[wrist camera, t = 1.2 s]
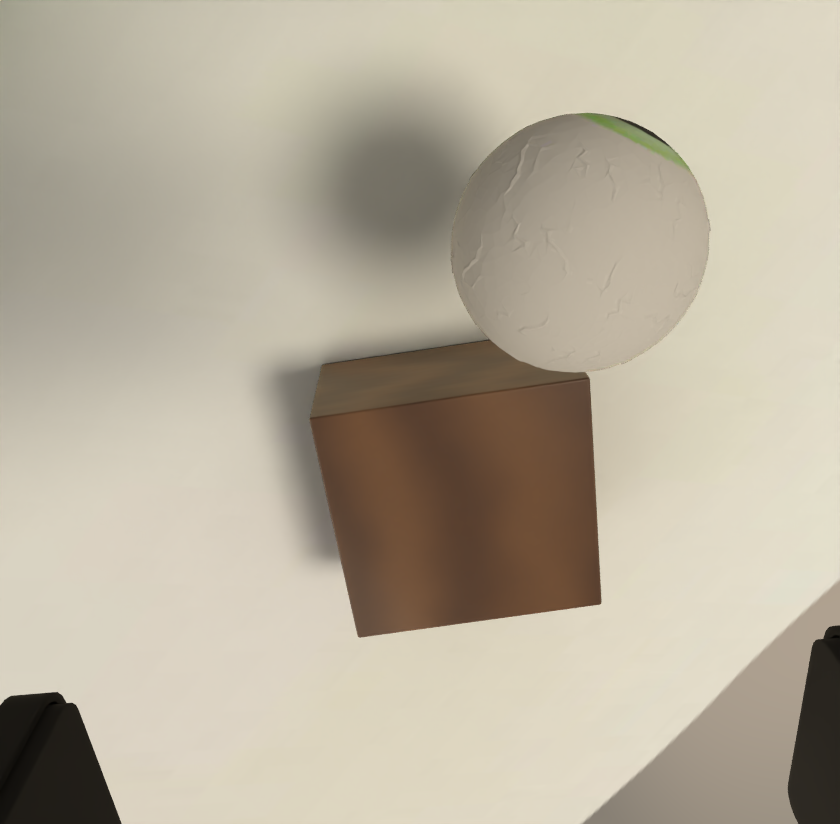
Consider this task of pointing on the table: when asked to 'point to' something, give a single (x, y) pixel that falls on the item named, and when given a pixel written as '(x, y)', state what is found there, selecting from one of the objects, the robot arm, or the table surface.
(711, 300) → the table surface
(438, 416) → the walnut block
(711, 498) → the table surface
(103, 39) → the table surface
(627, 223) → the lollipop
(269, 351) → the table surface
